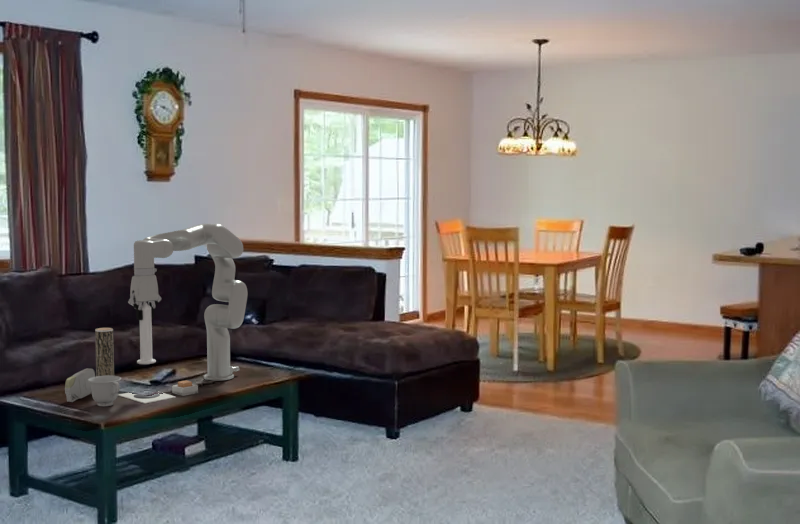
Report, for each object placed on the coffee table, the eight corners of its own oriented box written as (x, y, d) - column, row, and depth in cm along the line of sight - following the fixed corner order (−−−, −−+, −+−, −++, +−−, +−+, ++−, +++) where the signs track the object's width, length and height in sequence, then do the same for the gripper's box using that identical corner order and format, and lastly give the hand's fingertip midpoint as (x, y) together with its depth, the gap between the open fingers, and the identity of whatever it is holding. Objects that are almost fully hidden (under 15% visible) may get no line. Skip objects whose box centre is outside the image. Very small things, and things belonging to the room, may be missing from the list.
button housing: (187, 390, 395) (187, 382, 395) (198, 392, 390) (197, 385, 390) (172, 393, 390) (172, 385, 390) (182, 395, 385) (182, 388, 385)
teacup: (104, 411, 360) (103, 384, 359) (82, 404, 370) (81, 378, 369) (132, 405, 369) (132, 379, 368) (110, 399, 379) (109, 373, 378)
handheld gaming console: (66, 407, 375) (92, 393, 389) (72, 407, 374) (97, 394, 388) (62, 379, 373) (88, 366, 386) (68, 380, 372) (94, 367, 385)
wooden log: (114, 388, 398) (113, 327, 395) (114, 392, 391) (112, 330, 389) (97, 389, 396) (95, 328, 393) (96, 393, 389) (94, 330, 387)
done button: (186, 385, 393) (186, 380, 393) (192, 386, 390) (192, 381, 390) (177, 386, 390) (177, 381, 390) (183, 388, 387) (183, 383, 387)
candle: (150, 364, 378) (149, 300, 376) (133, 363, 380) (132, 299, 377) (158, 360, 385) (157, 297, 383) (142, 360, 387) (140, 297, 384)
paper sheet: (149, 389, 395) (148, 388, 395) (175, 397, 382) (175, 396, 382) (117, 395, 385) (117, 394, 385) (144, 403, 372) (144, 402, 372)
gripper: (157, 269, 388) (158, 315, 390) (119, 273, 375) (120, 320, 377) (168, 271, 383) (169, 317, 384) (130, 274, 370) (131, 322, 372)
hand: (145, 318), depth 381 cm, fingers closed on candle, 4 cm apart
